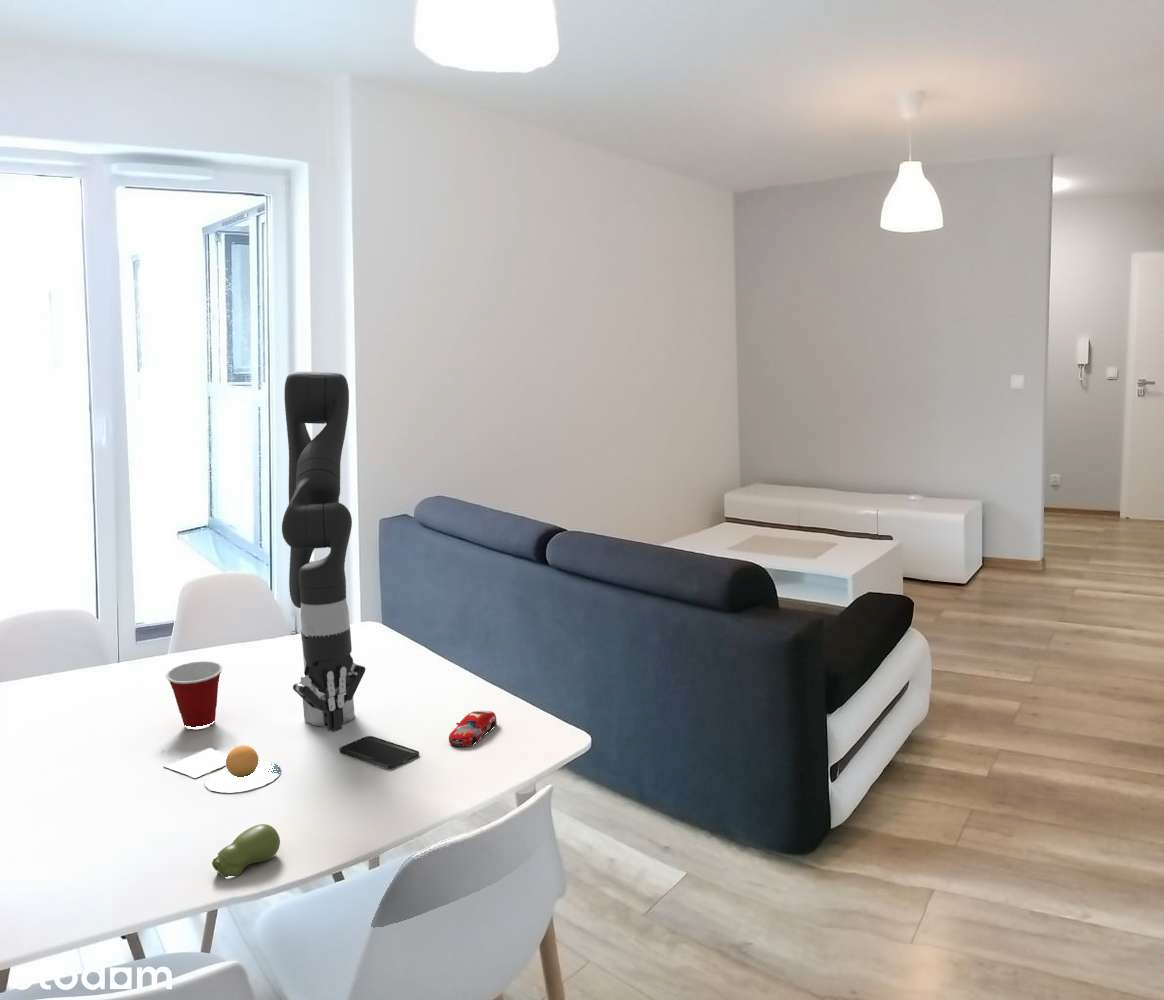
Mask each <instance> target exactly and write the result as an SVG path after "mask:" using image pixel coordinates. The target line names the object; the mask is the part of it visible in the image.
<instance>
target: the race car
mask: <svg viewBox="0 0 1164 1000" xmlns="http://www.w3.org/2000/svg"><path fill="white" fill-rule="evenodd" d="M456 725H457V726H456V727H455V728H454V729H453V730H452V731H451V732H450V733H449V736H448V742H449V744H450V745H452V746H455V747H472V746H471V745H473V744H474V743H475V742H476V743H478V742H479V741H480V740H481V739H483V738H484V737H485V736H486V735H487V734H488V733H487V732H489V731H490V730H491V729H492V728H493V727H494V726H495V727H497V715H496V714H495V712H493V711H491V710H490V711H489V710H476V711H475V710H474V711H472V712H470V713H468V714H467V715H465V716H464V717H463V718H462V719H461V720H460V722H456ZM490 732H491V731H490ZM490 732H489V733H490ZM486 733H487V734H486ZM485 734H486V735H485ZM484 735H485V736H484ZM483 736H484V737H483ZM482 737H483V738H482ZM480 738H481V739H480ZM479 739H480V740H479ZM478 740H479V741H478ZM477 741H478V742H477ZM474 745H475V744H474Z"/></svg>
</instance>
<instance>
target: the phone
mask: <svg viewBox="0 0 1164 1000" xmlns="http://www.w3.org/2000/svg"><path fill="white" fill-rule="evenodd" d="M338 751H339V753H340V754H342V755H345V756H348V757H351V758H352V759H356V760H358V759H359V760H360V761H361V762H364V763H368V764H370V765H373V766H375V767H376V766H377V767H378V768H382V769H385V770H393V769H396V768H398V767H401V766H403V765H404V764H405V763H409V762H411V761H414V760H415V758H416V759H418V758H419V757H420V752H419V750H416V749H412V748H410V747H406V746H404V745H401V744H398V743H394V742H391V741H389V740H386V739H382V738H379V737H376V736H373V735H367V736H364V737H361V738H359V739H356V740H354V741H352V742H349V743H347V744H344V745H342V746H340V747H339V748H338ZM413 759H414V760H413Z"/></svg>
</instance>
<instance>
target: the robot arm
mask: <svg viewBox="0 0 1164 1000" xmlns="http://www.w3.org/2000/svg"><path fill="white" fill-rule="evenodd" d="M283 391H284V392H283V393H284V396H283V397H284V411H285V412H284V413H285V421H286V432H287V445H288V446H287V447H288V504H287V507H286V510H285V511H284V515H283V518H282V522H281V534H282V538H283V540H284V542H285V543H286V544H287V545H288V546H289V547H290V554H289V556H290V558H289V574H288V578H289V579H288V588H289V597H290V600H291V602H292V604H293V605H294V607H296V608H297V609H300V615H299V616H300V617H299V618H300V626H301V629H300V635H301V636H300V637H301V646H302V647H301V648H302V656H303V669H304V671H303V675H302V676H301V678H300V681H299V683H298V682H296V683H294V684H293V685H292V690H293V691H294V692H295V693H296V694H297V695H298V696H300V697H301V698H302V706H303V719H304V722H307V723H309V724H311V725H312V726H316V727H324V728H325V729H327V730H328V731H329V732H332V733H335V732H338V731H340V730H342V728H343V726H344V724H346V723H348V722H350V721H352V720H353V719H354V718H355V716H356V715H355V714H356V713H355V704H354V703H355V701H354V696H355V693H356V691H357V689H358V687H359V685H360V683H361V681H362V678H363V676H364V674H365V673H366V667H365V666H362V665H361V664H357V663H355V662H354V658H353V657H352V655H351V653H352V651H353V650H352V639H351V638H352V637H351V634H352V633H351V625H350V624H351V623H350V612H349V606H348V602H347V580H346V571H345V563H346V556H347V550H348V546H349V540H350V538H351V532H352V526H353V525H352V524H353V519H352V515H351V511H349V508H348V507H347V506H346V505H344V504H343V503H341V502H340V495H341V460H342V454H343V453H342V452H343V447H344V442H345V438H346V437H345V436H346V430H347V423H348V418H349V408H350V405H349V404H350V403H349V402H350V390H349V383H348V380H347V378H346V376H345V375H343V374H342V373H338V372H333V371H332V372H330V371H329V372H328V371H292V372H290V373H289V374H287V376H286V378H285V382H284V390H283ZM307 424H319V425H320V424H321V425H325V424H326V425H325V426H324V427H323V429H322V430H321V431H319V433H318V434H316V436H314V438H313V439H311V437H310V433H309V432H308V429H307V426H306V425H307ZM326 548H329V549H330V551H329V553H328V555H327V556H325V557H324V558H321V559H319V560H314V561H313V560H311V558H312V555H313V553H314V550H316V549H326Z"/></svg>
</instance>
